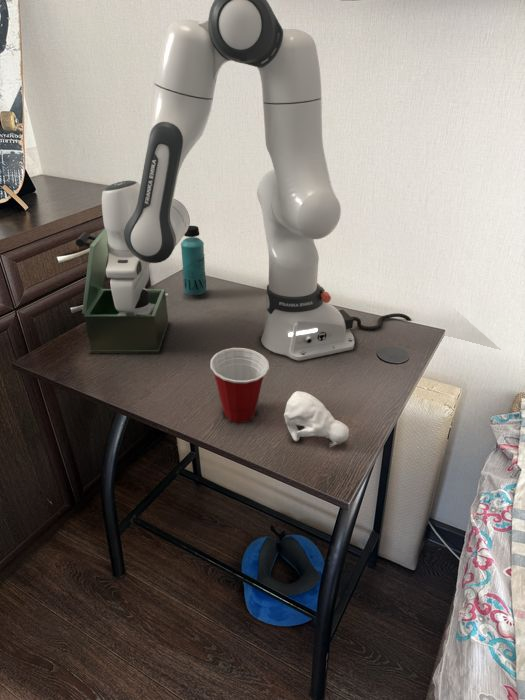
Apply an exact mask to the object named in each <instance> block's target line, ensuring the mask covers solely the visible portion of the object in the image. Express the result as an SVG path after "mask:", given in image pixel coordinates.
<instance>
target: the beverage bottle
mask: <svg viewBox="0 0 525 700" xmlns="http://www.w3.org/2000/svg"><path fill="white" fill-rule="evenodd" d="M199 236H200V229H199V226H197V225H189V228H188V230H187V232H186V233H185V235H184V236H183V237H186V238H184V239H183V240H181V241H180V242H181V243H180V247H181V248H180V249H181V260H182V262H181V263H182V281H183V291H184V293H185V294H187V295H190V296H198V295H202V294H204V293H205V292H206V290H207V277H206V276H207V275H206V274H207V273H206V260H205V259H206V258H205V257H206V253H205V249H204V245H205V242H204V241H203V240H202V239H201V238H199Z"/></svg>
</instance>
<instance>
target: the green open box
mask: <svg viewBox="0 0 525 700" xmlns="http://www.w3.org/2000/svg"><path fill="white" fill-rule="evenodd" d="M146 289H147V290H148V293H149V301H150V304H156V305H155V307H154V310H153V312H152V315H118V313H119V312H118V311H117V309H116V308H115V305H114V300H113V296H112V291H111V288H103V289H102V290H101V292H100V293H99V295H98V296H97V298H96V299H95V301H94V302H93V304H92V305H91V307H90V309H89V310H88V312H87V313H86V314H84V321H85V327H86V331H87V336H88V341H89V345H90V350H91V354H160V351H161V348H162V346H163V342H164V339H165V335H166V333H167V329H168V327H169V316H168V305H167V296H166V289H165V288H146Z"/></svg>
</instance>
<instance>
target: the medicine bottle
mask: <svg viewBox="0 0 525 700" xmlns="http://www.w3.org/2000/svg"><path fill="white" fill-rule="evenodd" d="M147 289H148V288H146V287H145V288H143V289H142V291H141V295H140V298H139V300H138V302H137V304H136V306H135V313H137V315H152V312H153V310H154V307H155V305H156V304H150V301H149V293H148V290H147ZM118 315H127V314H126V312H119V313H118Z"/></svg>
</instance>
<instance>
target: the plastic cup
mask: <svg viewBox="0 0 525 700" xmlns="http://www.w3.org/2000/svg"><path fill="white" fill-rule="evenodd" d="M269 369H270V366H269V360H268V359H267V358H266V357H265V355H263V354H261V353H260V352H258V351H256V350H254V349H250V348H247V347H246V348H245V347H231V348H226V349H222V350H220V351H218V352H216V353H215V354H214V355H213V356H212V358H211V359H210V370H211V371H212V373H213V376H214V379H215V381H216V386H217V390H218V391H217V392H218V394H219V398H220V403H221V405H222V410H223V414H224V415H225V417H226V418H227V420H229V421H231V422H233V423H245V422H249V421H250V420H251V419H253V417H254V415H255V413H256V409H257V404H258V401H259V396H260V394H261V393H260V392H261V388H262V383H263V380H264V377H265V376H266V375H267V373H268V371H269Z"/></svg>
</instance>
